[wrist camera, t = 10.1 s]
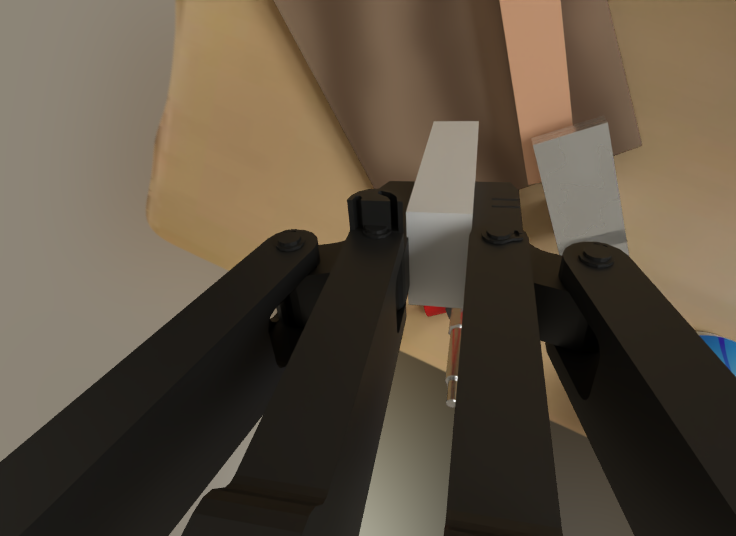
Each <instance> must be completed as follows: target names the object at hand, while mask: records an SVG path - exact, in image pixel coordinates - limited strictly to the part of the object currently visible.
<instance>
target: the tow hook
mask: <svg viewBox="0 0 736 536" xmlns="http://www.w3.org/2000/svg"><path fill="white" fill-rule="evenodd" d="M424 310H425V313H426V315H427V316H428V317H429V316H433V315H438V314H442V313H446V312H447V315H448V317H449V319H450V323H449V332H448V333H449V335H450V342H449V351H448V361H447V370H446V380H445V382H446V384H447V385H448V390H447V399H446V404H447V406H449V407H455V402H456V390H457V377H458V365H459V353H460V340H461V328H462V316H463V309H462V308H449V307H436V306H424Z"/></svg>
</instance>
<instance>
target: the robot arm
mask: <svg viewBox="0 0 736 536" xmlns="http://www.w3.org/2000/svg"><path fill="white" fill-rule="evenodd" d="M478 129H479V121H434V123H433V126H432V129H431V132H430V136H429V139H428V142H427V145H426V148H425V152H424V155H423V158H422V161H421V165H420V168H419V171H418V174H417V178H416V181H389V182H387V183H386V184H385V185H383V186H382V187H380V188H379V189H368V190H364V191H359V192H357V193H355V194H353V195H351V196H350V197H349V198H348V199H347V203H348V213H349V222H350V232H349V234H348V236H347V238H346V240H345V241H342V242H337V243H332V244H324V245H318V240H317V237H316V236H315V235H314V234H313V233H312V232H309V231H306V230H297V229H291V230H285V231H283V232H280V233H277V234H275V235H273V236H272V237H270V238H268V239H267V240H266V241H265V242H263V243H262V244H261V245H260V246H259V247H257V248H256V249H255V250H254V251H253V252H251V253H250V254H249V255H248V256H247V257H245V258H244V259H243V260H242V261H241V262H239V263H238V264H237V265H236V266H235V267H233V268H232V269H231V270H230V271H229V272H227V273H226V274H225V275H224V276H223V277H221V278H220V279H219V280H218V281H217V282H215V283H214V284H213V285H212V286H211V287H209V288H208V289H207V290H206V291H205V292H204V293H202V294H201V295H200V296H199V297H197V298H196V299H195V300H194V301H193V302H192V303H190V304H189V305H188V306H187V307H186V308H184V309H183V310H182V311H181V312H180V313H178V314H177V315H176V316H175V317H174V318H172V319H171V320H170V321H169V322H168V323H166V324H165V325H164V326H163V327H162V328H160V329H159V330H158V331H157V332H156V333H154V334H153V335H152V336H151V337H150V338H148V339H147V340H146V341H145V342H144V343H142V344H141V345H140V346H139V347H138V348H136V349H135V350H134V351H133V352H132V353H131V354H129V355H128V356H127V357H126V358H124V359H123V360H122V361H121V362H120V363H119V364H117V365H116V366H115V367H114V368H112V369H111V370H110V371H109V372H108V373H107V374H105V375H104V376H103V377H102V378H100V380H98V381H97V382H96V383H94V384H93V385H92V386H91V387H90V388H88V389H87V390H86V391H85V392H84V393H82V394H81V395H80V396H79V397H78V398H76V399H75V400H74V401H73V402H72V403H70V404H69V405H68V406H67V407H66V408H64V409H63V410H62V411H61V412H60V413H58V414H57V415H56V416H55V417H54V418H52V420H50V421H49V422H48V423H47V424H46V425H44V426H43V427H42V428H41V429H39V430H38V431H37V432H36V433H35V434H33V435H32V436H31V437H30V438H29V439H27V440H26V441H25V442H24V443H23V444H21V445H20V446H19V447H18V448H17V449H15V450H14V451H13V452H12V453H11V454H9V455H8V456H7V457H6V458H5V459H3V460H2V461H1V462H0V536H169V534H170V533H171V532H172V530H173V529H174V528H175V527H176V525H177V524H178V523H179V522H180V520H181V519H182V518H183V516H184V515H185V514H186V513H187V511H188V510H189V509H190V507H191V506H192V505H193V503H194V502H195V501H196V500H197V499H198V497H199V496H200V495H201V493H202V492H203V491H204V490H205V488H206V487H207V486H208V484H209V483H210V482H211V481H212V479H213V478H214V477H215V475H216V474H217V473H218V472H219V470H220V469H221V468H222V467H223V465H224V464H225V463H226V461H227V460H228V459H229V457H230V456H231V455H232V454H233V452H234V451H235V450H236V449H237V447H238V446H239V445H240V443H241V442H242V441H243V440H244V438H245V437H246V436H247V435H248V433H249V432H250V431H251V429H252V428H253V427H254V426H255V424H256V423H257V422H258V420H259V419H260V418H261V417H262V415H263V417H262V419H261V421H260V423H259V425H258V427H257V429H256V432H255V434H254V436H253V438H252V440H251V442H250V444H249V446H248V448H247V450H246V453H245V455H244V457H243V459H242V461H241V463H240V465H239V467H238V470H237V472H236V474H235V476H234V477H233V479H232V481H231V482H230V484H228V485H227V486H226V487H225V488H218V489H212V490H211V491H210V492H208V493H207V494H206V495H205V496H204V497H203V498H202V500H201V501H200V503H199V504H198V506H197V507H196V509H195V511H194V512H193V514H192V516H191V518H190V520H189V522H188V524H187V525H186V528H185V529H184V531H183V533H182V535H181V536H359V532H360V527H361V522H362V518H363V513H364V509H365V504H366V499H367V495H368V490H369V485H370V481H371V476H372V472H373V467H374V462H375V458H376V453H377V449H378V444H379V440H380V435H381V431H382V426H383V421H384V417H385V412H386V408H387V403H388V399H389V394H390V390H391V385H392V380H393V376H394V371H395V367H396V362H397V357H398V353H399V349H400V344H401V339H402V335H403V330H404V326H405V321H406V299H407V295H408V300H409V304H410V305H423V306H436V307H449V308H462V309H463V316H462V328H461V340H460V353H459V365H458V377H457V390H456V402H455V414H454V426H453V439H452V451H451V463H450V476H449V488H448V501H447V513H446V523H445V529H444V536H563V534H562V527H561V518H560V510H559V501H558V492H557V483H556V475H555V467H554V457H553V448H552V440H551V432H550V422H549V413H548V405H547V396H546V387H545V378H544V370H543V361H542V352H541V343H540V340H541V341H544V342H546V343H545V345H546V351H547V353H548V355H549V358H550V360H551V362H552V364H553V366H554V368H555V370H556V372H557V374H558V376H559V379H560V381H561V383H562V385H563V387H564V389H565V391H566V393H567V395H568V397H569V399H570V402H571V404H572V406H573V408H574V410H575V412H576V414H577V416H578V418H579V420H580V423H581V425H582V427H583V429H584V431H585V433H586V435H587V437H588V439H589V441H590V444H591V445H592V448H593V450H594V452H595V454H596V456H597V458H598V460H599V462H600V464H601V466H602V469H603V471H604V473H605V475H606V477H607V479H608V481H609V483H610V485H611V488H612V490H613V492H614V494H615V496H616V498H617V500H618V502H619V504H620V506H621V509H622V511H623V513H624V515H625V517H626V519H627V521H628V523H629V525H630V527H631V529H632V532H633V534H634V535H635V536H736V376H735V375H734V374H733V373H732V372H731V371H730V370H729V369H728V367H727V366H726V365H725V364H724V363H723V362H722V361H721V360H720V358H719V357H718V356H717V355H716V354H715V353H714V352H713V351H712V349H711V348H710V347H709V346H708V345H707V344H706V343H705V341H704V340H703V339H702V338H701V337H700V336H699V335H698V334H697V332H696V331H695V330H694V329H693V328H692V327H691V326H690V325H689V323H688V322H687V321H686V320H685V319H684V318H683V317H682V316H681V314H680V313H679V312H678V311H677V310H676V309H675V308H674V307H673V305H672V304H671V303H670V302H669V301H668V300H667V299H666V298H665V296H664V295H663V294H662V293H661V292H660V291H659V290H658V289H657V287H656V286H655V285H654V284H653V283H652V282H651V281H650V280H649V278H648V277H647V276H646V275H645V274H644V273H643V272H642V271H641V269H640V268H639V267H638V266H637V265H636V264H635V263H634V262H633V260H632V259H631V258H630V257H629V256H628V255H627V254H626V253H624V252H623V251H622V250H620V249H618V248H616V247H614V246H611V245H609V244H606V243H600V242H595V241H593V242H578V243H573V244H571V245H570V246H568V247H566V248H565V250H564V252H563V254H562V256H561V255H557V254H553V253H549V252H545V251H542V250H540V249H538V248H535V247H534V246H532V245H531V244H529V238H528V236H527V234H526V232H524V231H523V227H522V217H521V208H520V198H519V190H518V189H517V188H516V187H515V186H514V185H513V184H512V183H511V182H476V181H475V178H476V161H477V145H478ZM275 308H277V314H276V315H275V316H274V317H273V318H271V319H270V316H271V314H272V313H273V311H274V310H275Z"/></svg>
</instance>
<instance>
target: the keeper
mask: <svg viewBox="0 0 736 536" xmlns="http://www.w3.org/2000/svg"><path fill="white" fill-rule="evenodd" d="M531 139H532V144H533V148H534V152H535V156H536V160H537V164H538V169H539V173H540V177H541V181H542V185H543V189H544V193H545V197H546V201H547V206H548V210H549V214H550V218H551V222H552V226H553V230H554V234H555V238H556V242H557V247H558V251H559V255H561V256H562V254H563V252H564V250H565V248H566V247H568V246H570V245H571V244H573V243H578V242H593V241H595V242H600V243H606V244H609V245H611V246H614V247H616V248H618V249H620V250H622V251H623V252H624V253H626V254H627V255H628V256H629V252H628V246H627V240H626V233H625V227H624V221H623V215H622V208H621V202H620V196H619V190H618V183H617V177H616V171H615V165H614V158H613V152H612V146H611V139H610V133H609V127H608V122H607V120H606V119H605V117H604V116H601V117H598V118H594V119H591V120H588V121H585V122H581V123H578V124H575V125H572V126H569V127H565V128H562V129H559V130H556V131H552V132H549V133H546V134H543V135H540V136H536V137H533V138H531Z"/></svg>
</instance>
